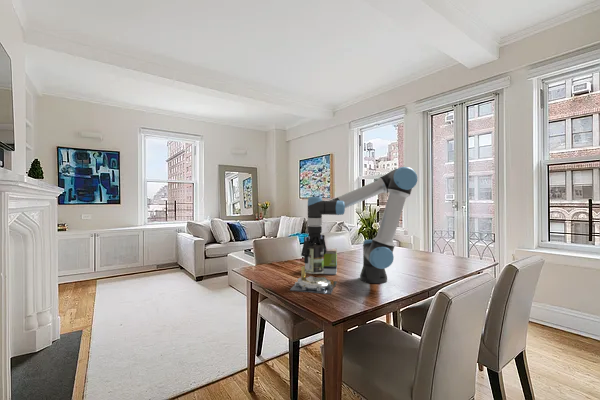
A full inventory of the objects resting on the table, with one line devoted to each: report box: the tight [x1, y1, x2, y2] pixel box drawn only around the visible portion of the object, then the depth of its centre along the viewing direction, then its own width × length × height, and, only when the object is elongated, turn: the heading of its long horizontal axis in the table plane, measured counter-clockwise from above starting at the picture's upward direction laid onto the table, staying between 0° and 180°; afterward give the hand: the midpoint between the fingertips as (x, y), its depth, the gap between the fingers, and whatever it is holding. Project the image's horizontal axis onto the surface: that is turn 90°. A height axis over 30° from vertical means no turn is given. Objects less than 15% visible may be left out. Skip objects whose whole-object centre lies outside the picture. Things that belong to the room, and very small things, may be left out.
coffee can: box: [305, 243, 324, 275], centre depth 157 cm, size 10×10×14 cm
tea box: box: [319, 247, 338, 275], centre depth 186 cm, size 15×10×15 cm
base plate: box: [289, 280, 338, 295], centre depth 157 cm, size 21×21×1 cm
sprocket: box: [294, 265, 335, 291], centre depth 157 cm, size 21×21×9 cm
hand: (314, 267), depth 157 cm, fingers closed on coffee can, 10 cm apart
